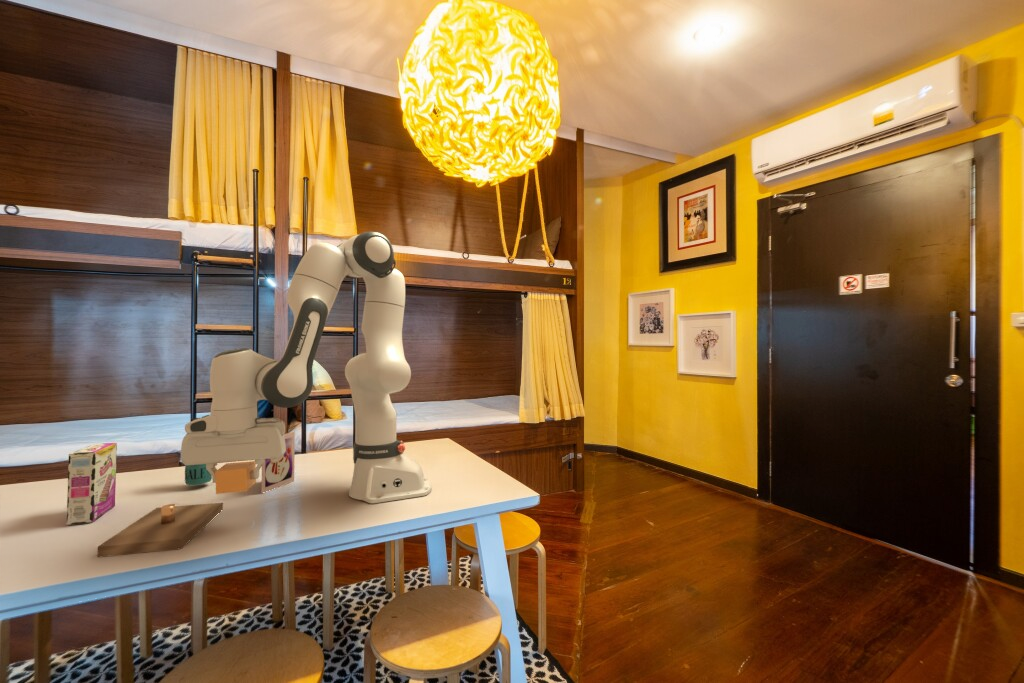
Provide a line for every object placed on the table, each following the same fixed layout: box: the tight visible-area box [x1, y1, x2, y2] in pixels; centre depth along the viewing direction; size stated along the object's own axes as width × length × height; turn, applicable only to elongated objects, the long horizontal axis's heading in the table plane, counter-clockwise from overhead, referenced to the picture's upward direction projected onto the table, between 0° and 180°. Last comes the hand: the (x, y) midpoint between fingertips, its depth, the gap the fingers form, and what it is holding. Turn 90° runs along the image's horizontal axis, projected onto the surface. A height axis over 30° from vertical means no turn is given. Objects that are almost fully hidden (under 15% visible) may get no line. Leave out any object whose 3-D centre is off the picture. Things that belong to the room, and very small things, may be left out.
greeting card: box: [261, 431, 296, 494], centre depth 122 cm, size 11×7×15 cm, turn 163°
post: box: [161, 503, 176, 524], centre depth 93 cm, size 2×2×4 cm
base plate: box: [96, 502, 224, 558], centre depth 93 cm, size 14×20×2 cm
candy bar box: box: [66, 442, 118, 526], centre depth 101 cm, size 11×5×16 cm, turn 23°
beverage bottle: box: [184, 417, 212, 486], centre depth 121 cm, size 6×7×20 cm
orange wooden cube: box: [215, 460, 257, 495], centre depth 95 cm, size 6×6×5 cm
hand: (236, 480), depth 95 cm, fingers closed on orange wooden cube, 6 cm apart
